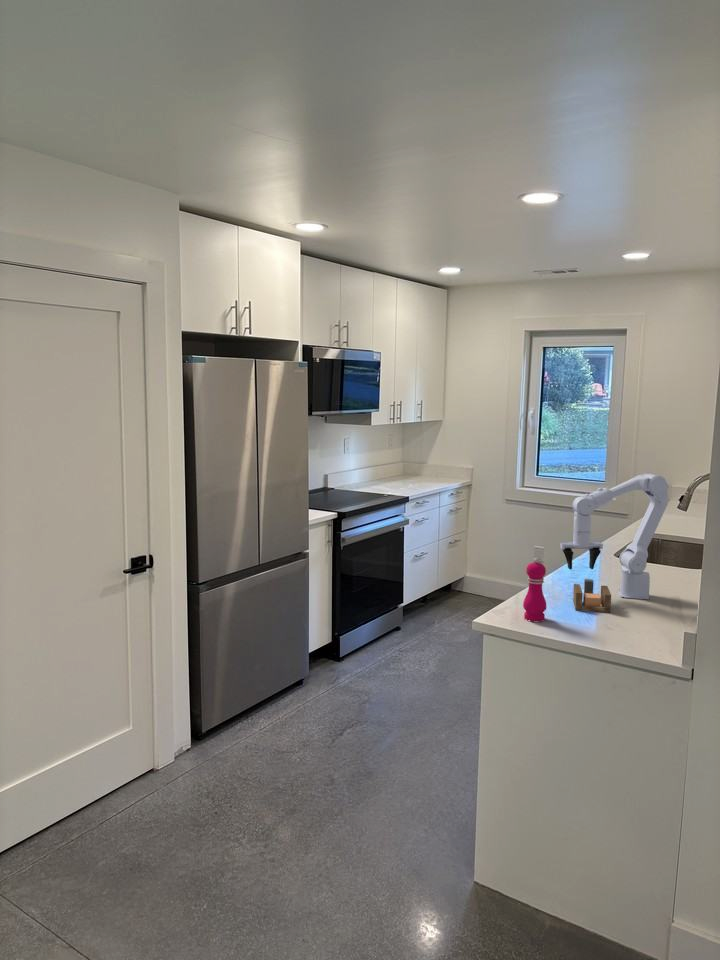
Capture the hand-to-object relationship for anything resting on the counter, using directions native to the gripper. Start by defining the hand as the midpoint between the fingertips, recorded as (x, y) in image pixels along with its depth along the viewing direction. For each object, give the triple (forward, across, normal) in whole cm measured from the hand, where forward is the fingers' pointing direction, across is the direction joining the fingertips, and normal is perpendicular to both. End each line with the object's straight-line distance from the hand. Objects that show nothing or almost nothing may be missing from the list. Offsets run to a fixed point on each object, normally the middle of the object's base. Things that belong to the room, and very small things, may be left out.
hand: (580, 568), depth 241 cm
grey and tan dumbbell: (+10, -1, +8) cm, 13 cm away
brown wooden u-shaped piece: (+10, 0, +12) cm, 16 cm away
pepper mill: (+10, +23, +25) cm, 35 cm away
